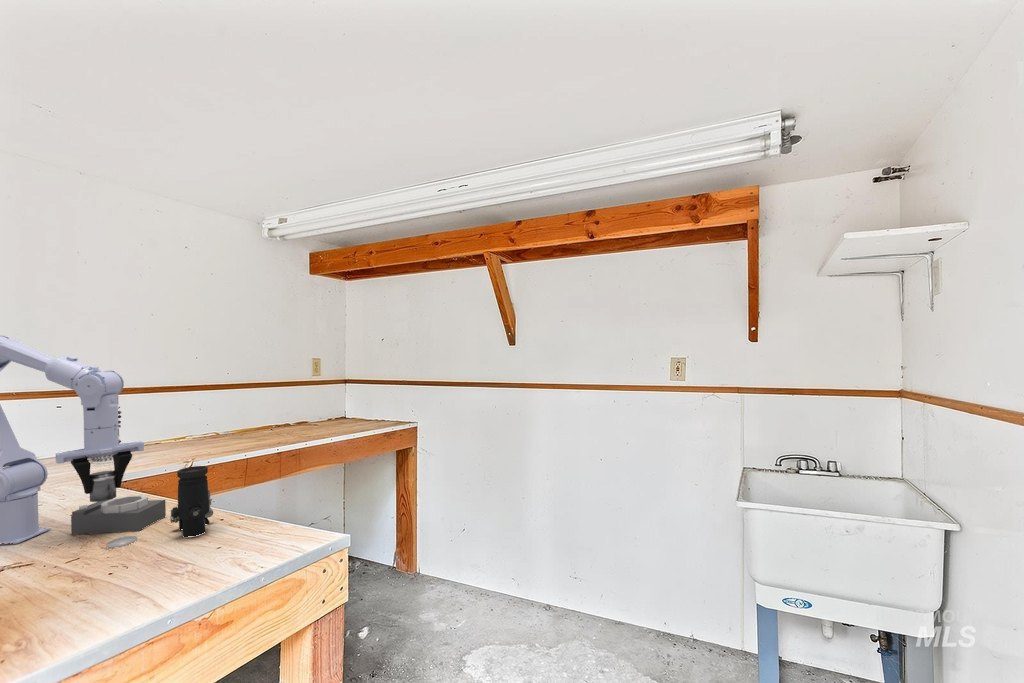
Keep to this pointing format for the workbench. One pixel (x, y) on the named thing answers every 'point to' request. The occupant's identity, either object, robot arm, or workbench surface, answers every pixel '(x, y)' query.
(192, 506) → the scope
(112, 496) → the lens
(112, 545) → the grey domed disc
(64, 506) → the workbench surface
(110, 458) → the decorative candle
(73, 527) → the camera body
